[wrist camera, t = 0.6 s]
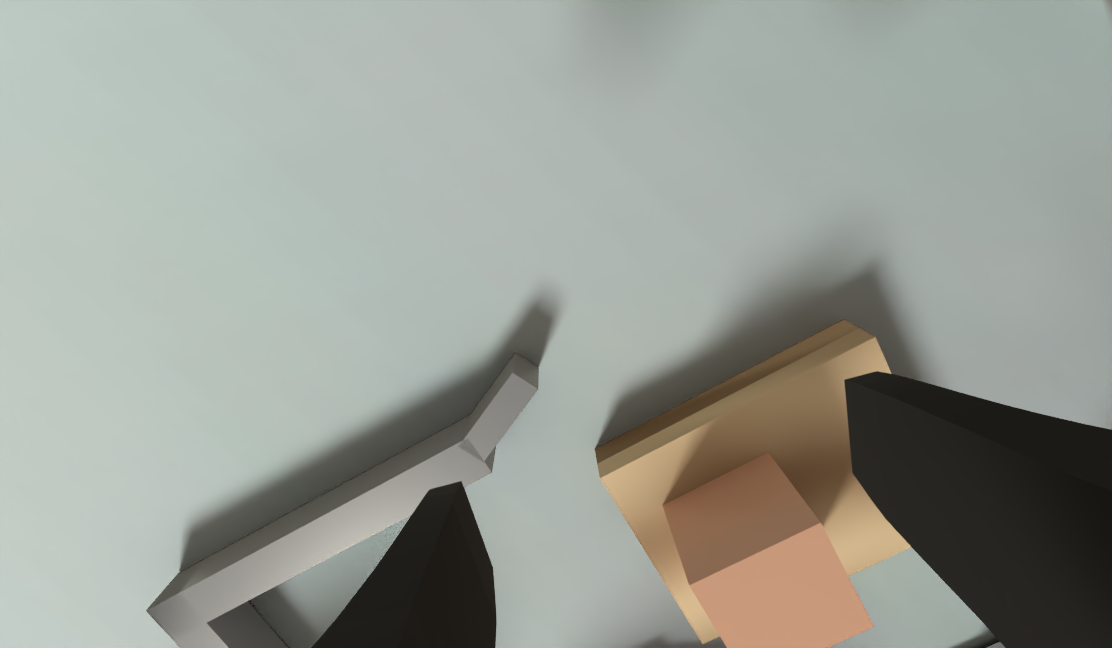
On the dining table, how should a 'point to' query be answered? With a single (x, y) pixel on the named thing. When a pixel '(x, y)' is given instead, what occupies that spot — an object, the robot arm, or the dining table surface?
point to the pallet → (757, 454)
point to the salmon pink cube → (763, 562)
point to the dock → (334, 524)
